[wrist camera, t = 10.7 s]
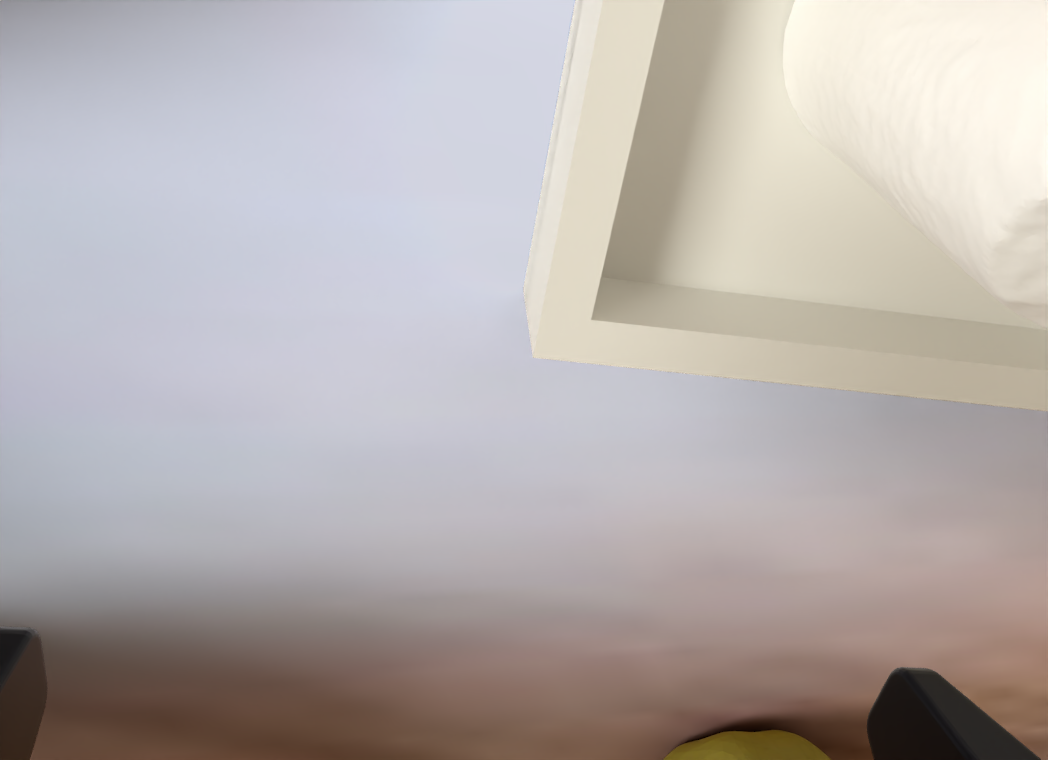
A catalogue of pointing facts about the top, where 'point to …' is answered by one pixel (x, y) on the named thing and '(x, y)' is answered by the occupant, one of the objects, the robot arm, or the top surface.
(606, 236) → the tray
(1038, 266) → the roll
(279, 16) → the top surface
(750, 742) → the apple
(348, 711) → the top surface
